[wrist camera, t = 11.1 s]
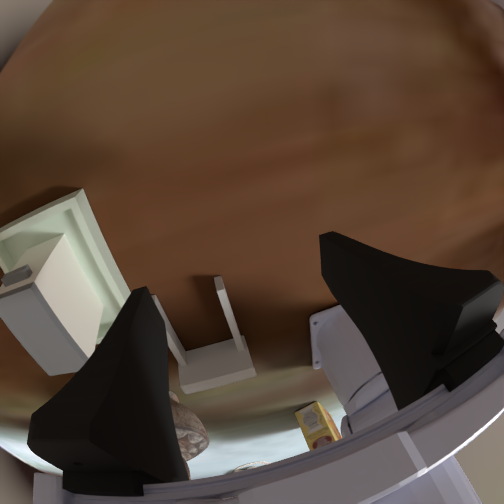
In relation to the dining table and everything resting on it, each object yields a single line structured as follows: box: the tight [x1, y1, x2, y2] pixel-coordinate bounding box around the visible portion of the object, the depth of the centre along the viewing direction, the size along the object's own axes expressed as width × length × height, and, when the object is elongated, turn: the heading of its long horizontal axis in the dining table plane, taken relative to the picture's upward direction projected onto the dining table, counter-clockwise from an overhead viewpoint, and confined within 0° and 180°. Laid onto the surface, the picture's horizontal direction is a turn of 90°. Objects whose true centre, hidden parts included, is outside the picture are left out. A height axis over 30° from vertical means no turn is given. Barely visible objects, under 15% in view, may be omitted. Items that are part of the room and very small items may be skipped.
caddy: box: [0, 234, 104, 376], centre depth 16 cm, size 8×4×7 cm, turn 11°
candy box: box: [295, 401, 342, 451], centre depth 34 cm, size 9×4×15 cm, turn 29°
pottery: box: [169, 391, 209, 480], centre depth 26 cm, size 11×25×12 cm, turn 134°
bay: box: [152, 276, 257, 394], centre depth 24 cm, size 9×7×4 cm
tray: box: [0, 188, 131, 344], centre depth 19 cm, size 12×9×2 cm
